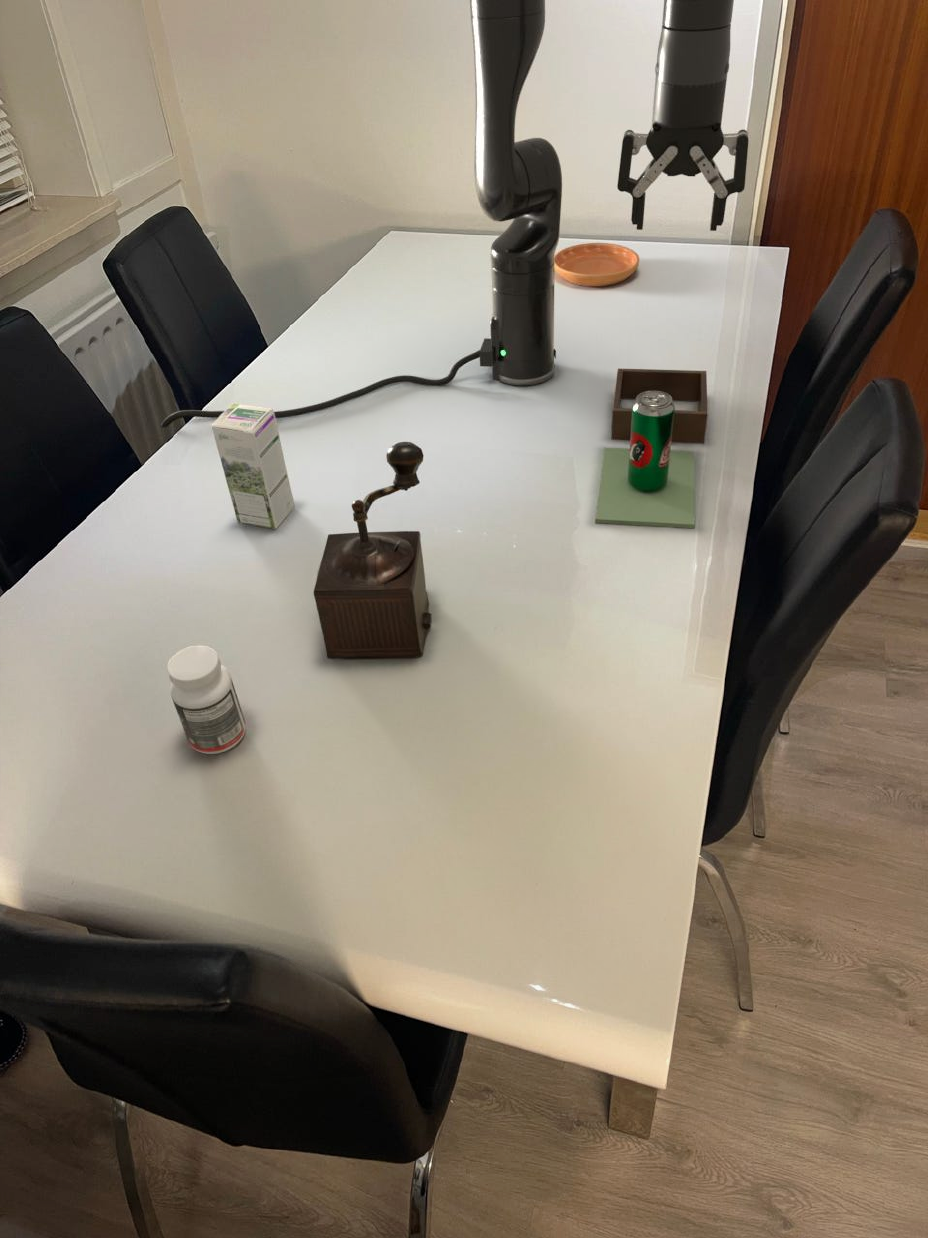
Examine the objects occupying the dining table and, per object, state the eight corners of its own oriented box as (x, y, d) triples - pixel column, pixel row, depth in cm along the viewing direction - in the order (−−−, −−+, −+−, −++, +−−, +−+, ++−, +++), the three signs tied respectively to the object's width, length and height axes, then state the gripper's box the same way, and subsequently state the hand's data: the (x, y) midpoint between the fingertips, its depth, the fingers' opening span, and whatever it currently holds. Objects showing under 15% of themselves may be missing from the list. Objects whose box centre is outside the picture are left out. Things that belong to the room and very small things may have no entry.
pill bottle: (192, 716, 94) (166, 643, 88) (249, 710, 95) (227, 637, 88) (185, 759, 90) (156, 686, 84) (244, 753, 90) (220, 680, 84)
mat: (594, 522, 116) (595, 518, 115) (604, 451, 128) (604, 447, 128) (694, 528, 113) (695, 524, 113) (694, 455, 126) (694, 451, 126)
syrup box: (296, 506, 122) (275, 405, 113) (275, 531, 118) (251, 429, 109) (258, 500, 124) (234, 400, 114) (235, 525, 120) (209, 424, 110)
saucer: (643, 287, 169) (644, 271, 167) (555, 292, 170) (555, 276, 168) (632, 255, 181) (633, 240, 179) (550, 260, 182) (550, 244, 180)
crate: (611, 439, 130) (612, 410, 127) (616, 396, 140) (617, 368, 137) (703, 443, 128) (707, 413, 125) (703, 399, 137) (706, 370, 134)
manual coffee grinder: (428, 659, 99) (412, 518, 87) (325, 660, 99) (295, 521, 88) (437, 568, 110) (424, 433, 99) (345, 570, 111) (321, 436, 99)
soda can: (666, 495, 118) (674, 409, 110) (625, 493, 119) (631, 408, 111) (667, 473, 122) (676, 389, 114) (628, 471, 123) (634, 387, 115)
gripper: (758, 64, 102) (737, 218, 113) (626, 65, 104) (617, 216, 115) (761, 81, 96) (738, 241, 107) (621, 82, 99) (613, 238, 110)
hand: (676, 228), depth 111 cm, fingers open, 8 cm apart
